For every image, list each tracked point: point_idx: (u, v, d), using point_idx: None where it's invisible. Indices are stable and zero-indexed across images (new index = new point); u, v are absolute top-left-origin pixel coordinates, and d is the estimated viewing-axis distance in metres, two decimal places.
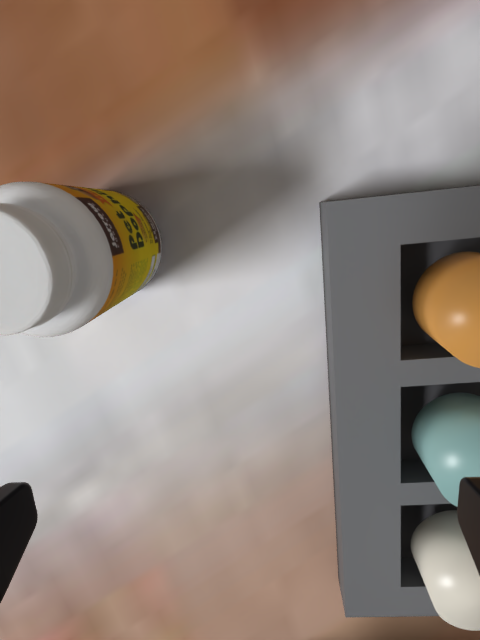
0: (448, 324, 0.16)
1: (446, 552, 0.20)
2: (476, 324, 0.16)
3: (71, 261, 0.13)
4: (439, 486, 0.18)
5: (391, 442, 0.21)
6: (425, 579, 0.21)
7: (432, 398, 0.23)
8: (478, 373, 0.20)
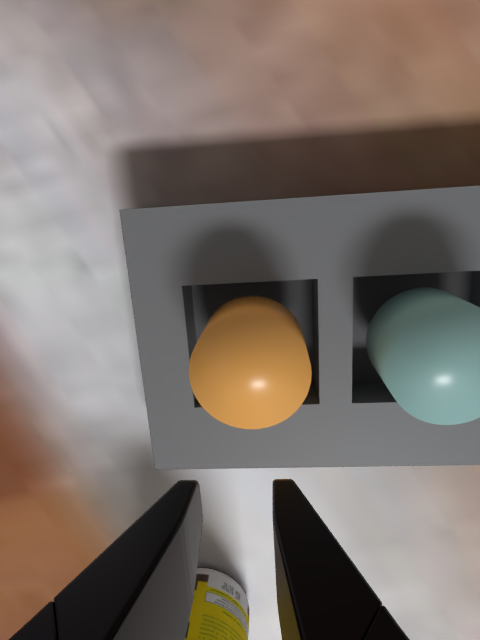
0: (256, 420, 0.15)
1: None
2: (257, 394, 0.15)
3: None
4: (468, 419, 0.15)
5: None
6: None
7: None
8: (341, 323, 0.17)
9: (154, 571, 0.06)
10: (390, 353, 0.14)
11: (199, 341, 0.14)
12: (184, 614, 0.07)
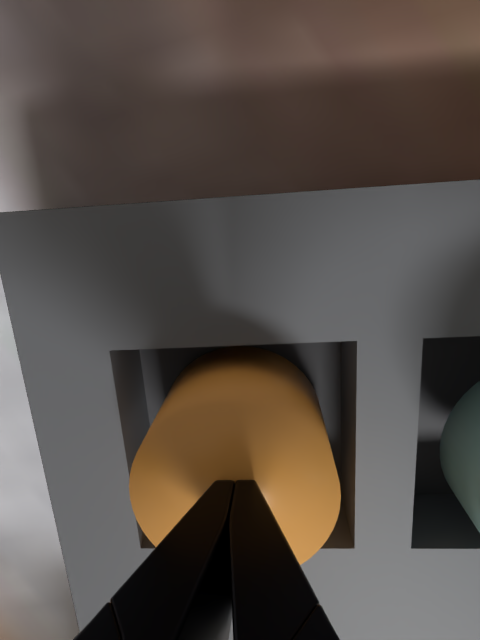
0: None
1: None
2: None
3: None
4: None
5: None
6: None
7: None
8: (398, 417, 0.09)
9: (206, 571, 0.06)
10: None
11: (145, 442, 0.08)
12: (228, 613, 0.07)
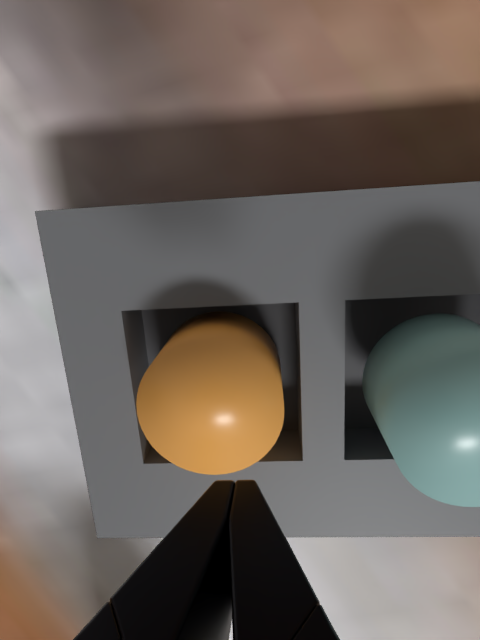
0: (219, 464, 0.13)
1: None
2: (220, 433, 0.12)
3: None
4: None
5: None
6: None
7: None
8: (330, 359, 0.13)
9: (206, 571, 0.06)
10: (395, 411, 0.10)
11: (147, 371, 0.12)
12: (228, 614, 0.07)
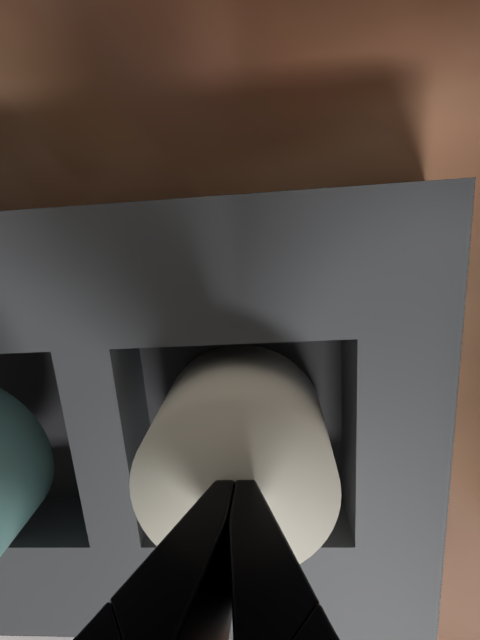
0: None
1: None
2: None
3: None
4: None
5: (5, 560, 0.11)
6: None
7: None
8: None
9: (206, 571, 0.06)
10: None
11: None
12: (228, 614, 0.07)
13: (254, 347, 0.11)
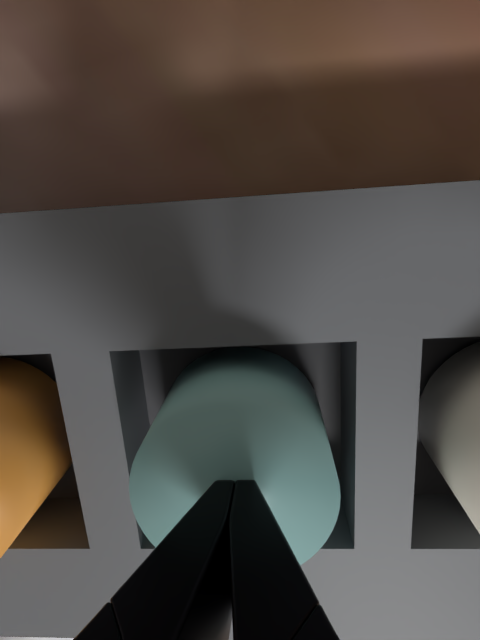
0: None
1: (469, 516, 0.09)
2: None
3: None
4: None
5: None
6: None
7: None
8: (103, 425, 0.10)
9: (206, 571, 0.06)
10: (130, 472, 0.09)
11: None
12: (228, 614, 0.07)
13: None
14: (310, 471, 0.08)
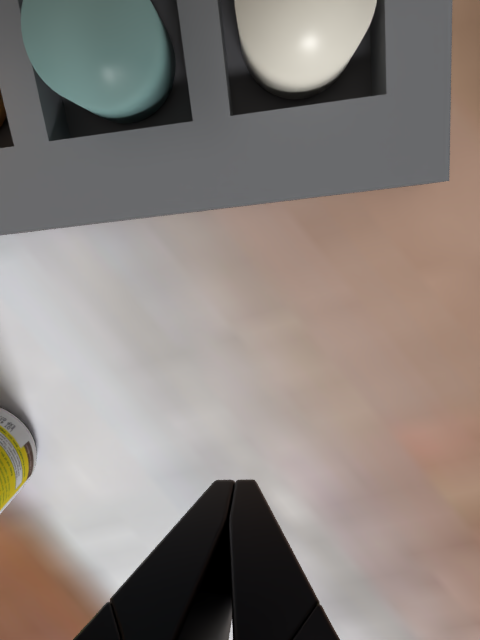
0: None
1: (252, 58, 0.14)
2: None
3: None
4: (120, 95, 0.14)
5: (129, 143, 0.15)
6: (306, 82, 0.14)
7: None
8: (13, 33, 0.15)
9: (206, 571, 0.06)
10: (21, 18, 0.13)
11: None
12: (228, 614, 0.07)
13: None
14: (131, 0, 0.13)
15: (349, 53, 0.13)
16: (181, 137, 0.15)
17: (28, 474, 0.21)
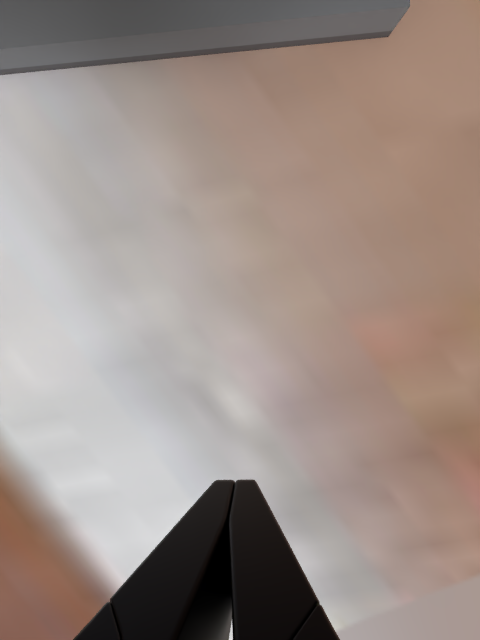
0: None
1: None
2: None
3: None
4: None
5: None
6: None
7: None
8: None
9: (206, 571, 0.06)
10: None
11: None
12: (228, 614, 0.07)
13: None
14: None
15: None
16: None
17: None
